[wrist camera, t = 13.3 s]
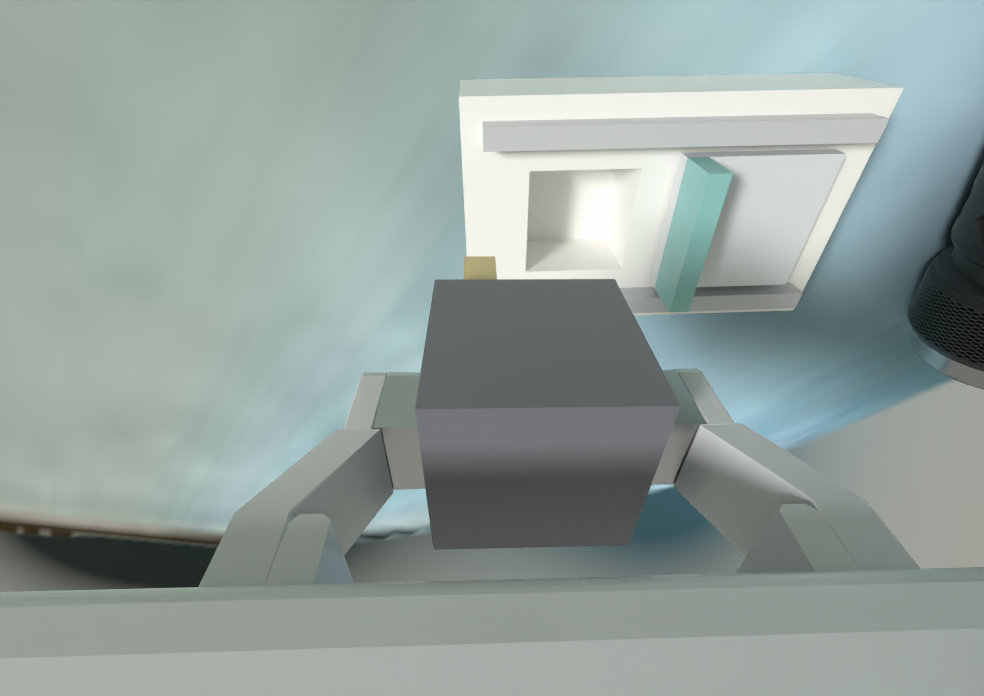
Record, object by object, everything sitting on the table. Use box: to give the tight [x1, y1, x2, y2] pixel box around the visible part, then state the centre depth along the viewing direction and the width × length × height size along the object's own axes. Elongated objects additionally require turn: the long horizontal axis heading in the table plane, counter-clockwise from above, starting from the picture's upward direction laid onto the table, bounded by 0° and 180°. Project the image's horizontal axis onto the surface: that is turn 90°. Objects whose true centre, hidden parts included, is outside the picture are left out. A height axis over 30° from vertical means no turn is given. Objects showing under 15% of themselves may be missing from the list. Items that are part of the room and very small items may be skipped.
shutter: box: [650, 149, 846, 313], centre depth 22 cm, size 7×8×3 cm
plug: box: [415, 256, 680, 549], centre depth 10 cm, size 4×4×6 cm
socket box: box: [459, 73, 904, 316], centre depth 25 cm, size 12×20×6 cm, turn 91°
